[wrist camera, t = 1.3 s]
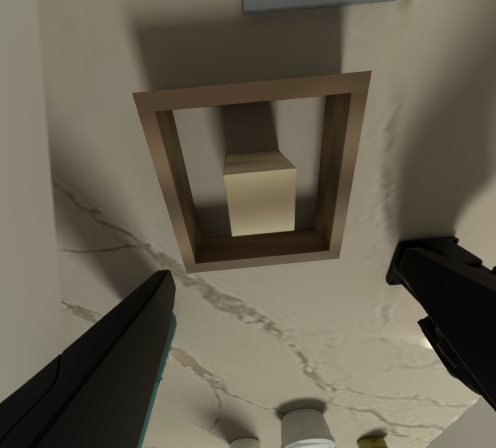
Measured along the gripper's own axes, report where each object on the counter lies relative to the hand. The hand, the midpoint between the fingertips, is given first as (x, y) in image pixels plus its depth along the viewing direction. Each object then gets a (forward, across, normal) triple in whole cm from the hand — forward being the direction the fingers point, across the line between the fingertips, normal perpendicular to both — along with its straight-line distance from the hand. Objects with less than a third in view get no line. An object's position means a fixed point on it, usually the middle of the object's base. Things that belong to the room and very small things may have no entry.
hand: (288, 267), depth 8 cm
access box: (+13, 0, 0) cm, 13 cm away
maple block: (+13, 0, 0) cm, 13 cm away
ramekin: (+13, -8, +56) cm, 58 cm away
